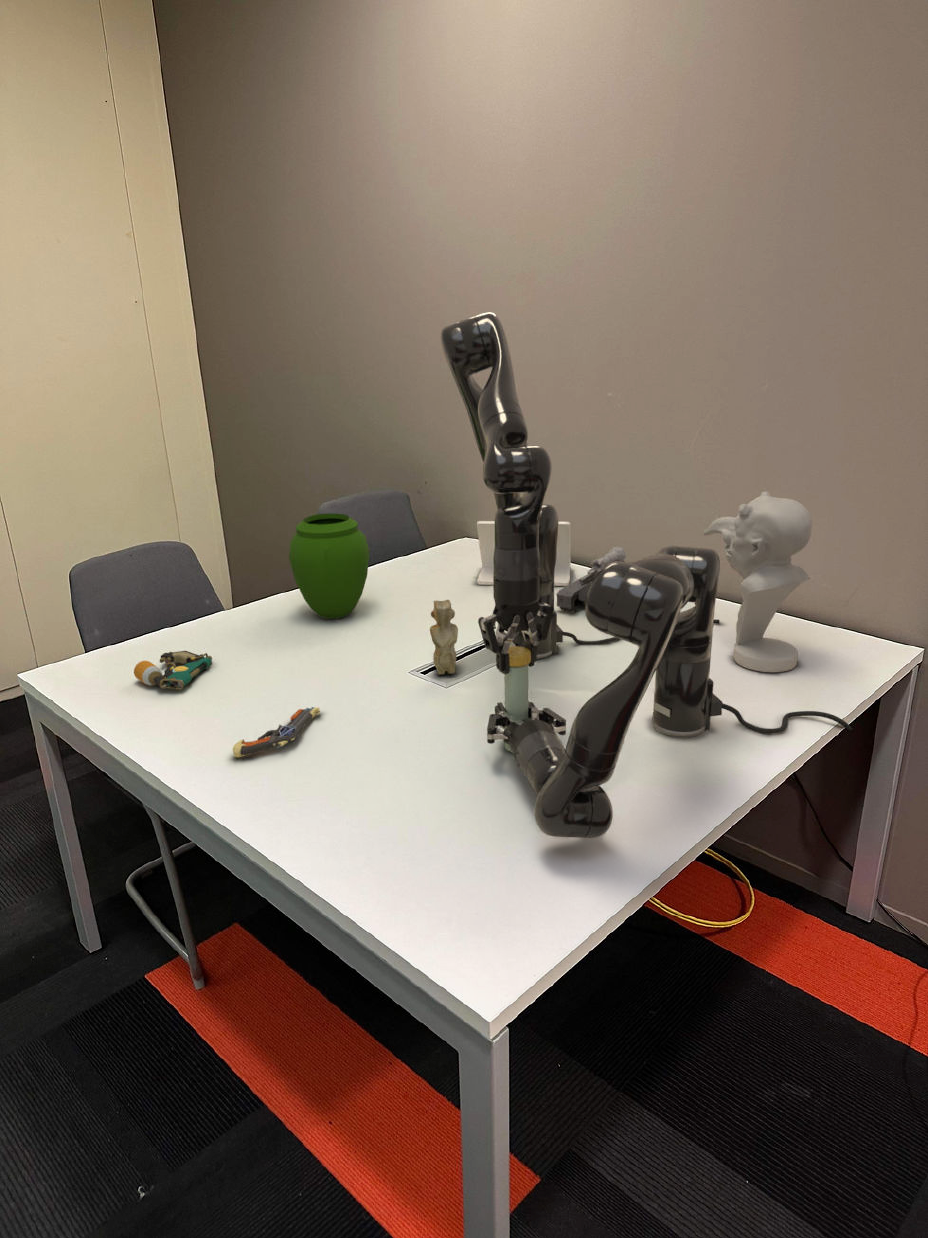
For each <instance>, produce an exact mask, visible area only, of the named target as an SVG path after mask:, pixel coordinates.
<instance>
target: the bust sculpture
mask: <svg viewBox="0 0 928 1238" xmlns="http://www.w3.org/2000/svg"><path fill="white" fill-rule="evenodd" d="M812 530H813V522H812V516H811V515H810V512H809V511H808V509H807V508H806V507H805V506H804V505H803V504H802V503H800V502H799V501H797V500H795V499H791V498H783V497H774V496H771V494H770V492H769V491H762V492H761V494H760V496H757V497H756V498H754V499H753V500H751V501H749V502H748V504H746V503H742V504H740V505H739V507H738V511H737V516H736V517H732V516H723V517H720V518H716V519H715V520H713V522H711V523H710V525H709V526H708V527H707V528H706V529H705V530H704V531H703V534H702V535H703V536H710V535H714V534H721V535H722V540H723V542H724V543H725V544H726V545H725V546H724V548H723V552H724V554H725V557H726V560H727V561H728V563H729V565H730V568H731V569H732V570H734V572H736V573H737V574H738V575H739V576H741V577H742V578H743V580H742V581H741V583H740V585H739V591H740V593H741V597H742V599H743V600H742V602H741V604H740V607H739V610H738V613H737V621H736V625H735V633H736V634H735V643H734V645H733V653H732V654H733V655H732V658H733V661H734V662H735V663H736V664H738V665H739V666H741V667H743V668H745V669H749V670H751V671H756V672H761V673H782V672H786V671H791V670H793V669H794V668H795V667H796V666H797V664H798V663H797V662H798V656H799V650H798V649H797V647H796V646H794V645H793V644H792V643H789V642H787V641H784V640H782V639H781V640H780V639H777V638H776V639H775V638H770V637H764V635H765V633H766V631H767V629H768V627H769V625H770V623H771V621H772V619H773V618H774V616H775V614H776V612H778V610H779V609H780V607H781V606H782V605H783V603H784V601H786V599H787V598H788V597H789V595H791V594H792V593H793V592H794V590H796V589H797V588H798V587H799V586H801V585H802V584H803V583H805V582H807V581H808V580H811V577H810V575H809V574H808V573H807V571H806V570H805V569H804V568H802V567H801V566H800V565H795V564H792V556H793V555H796V554H799V552H801V551H802V550H804V548H805V547H806V546H807V545H808V544H809V542H810V538H811V535H812Z"/></svg>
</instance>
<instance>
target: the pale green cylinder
mask: <svg viewBox="0 0 928 1238" xmlns="http://www.w3.org/2000/svg"><path fill="white" fill-rule="evenodd" d="M529 674H530V673H529V664H528V665H525V666H520V667H513V666H509V673H508V674H503V676H504V707H505V709H506V713H508V714H509V715H510V714H512V715H514V716H515V717H516V718H518V719H527V718H528V700H529V694H530V693H529V691H530V690H529V685H530V684H529V683H530V681H529V676H530V675H529ZM504 748H505V750H506V751H508V752H510V753H512V751H511V749H510V746H509V745H508V744H507V743H505V742H504Z"/></svg>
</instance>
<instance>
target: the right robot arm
mask: <svg viewBox="0 0 928 1238" xmlns="http://www.w3.org/2000/svg"><path fill="white" fill-rule="evenodd" d="M720 571H721V561H720V555H719V553H718V552H717V551H716V550H715V549H712V548H704V547H692V546H681V545H668V546H664V547H662V548H660V549H659V550H657V552H655V554H651V555H649V556H646V557H643V558H642V559H638V560H634V561H630V562H627V561H625V562H621V561H614V562H611V563H609V564H608V565H606V566H605V567H604V568H603V569H602V570H601V571H600V572H599V573H598V574H597V575H596V577H595V578H594V580H593V582H592V583H591V585H590V587H589V590H588V592H587V596H586V601H585V606H584V611H585V617H586V619H587V621H588V623H589V624H590V626H592V627H593V628H594V629H596V630H597V631H599V632H600V633H603V634H605V635H608V636H611V637H616V638H619V639H618V640H622V641H625V642H628V643H630V644H631V645H635V646H637V647H638V649H637V651H636V653H635V655H634V657H633V659H632V660H631V662H630V664H629V665H628V666H627V667H626V668H625V669H624V671H623V672H621V674H620V675H618V676H616V678H615V679H613V680H612V681H611V682H610V683H609V684H607V685H606V686H605V687H603V688H602V689H600V690H599V691H597V692H596V693H595V694H594V695H592V696H591V697H590V698H589V699H588V700H587V701H586V702H584V703H583V705H582V706H581V707H580V708H579V711H578V712H577V713H576V716H575V717H574V720H573V722H572V725H571V728H570V732H569V734H568V735H569V736H568V739H567V742H566V744H565V745H566V746H564V744H563V743H562V741H561V739H560V738H559V737H558V735H560V736H565V735H567V719H566V718H564V717H562V716H561V715H559V714H558V713H556V712H555V711H553V710H552V709H551V708H548V707H543V708H542V709H539V707H536V705H535V703H534V702H532V701H530V700H529V699H528V718H527V719H518V718H516V717H515V716H514V715H512V714H510V715H509V714H508V713H506V709H505V705H504V704H503V702H497V704H496V705H494V713H491V714H489V717H488V721H487V727H486V742H487V743H488V744H491V745H492V744H495V742H496V741H497V740H498V741H499V740H500V741H501V740H502V741H503V742H504V744H505V743H507V744H508V745H509V746H510V749H511V751H512V752H511V753H512V755H513V757H514V759H515V760H516V761H515V762H516V763H517V766H518V767H519V768H520V770H521V772H522V774H523V775H524V776H525V778H526V779H527V780H528V783H529V784H530V786H531V788H532V790H533V791H534V793H535V794H536V800H535V804H534V820H535V823H536V826H537V827H538V829H539V830H540V831H541V832H542V833H543V834H545V835H546V836H549V837H554V838H577V839H598V838H601V837H602V836H603V835H605V834H606V833H607V832H608V831H609V829H610V828H611V826H612V823H613V820H614V819H613V818H614V812H613V811H614V810H613V805H612V802H611V800H610V797H609V796H608V793H607V792H606V791H605V789H604V788H603V787H602V785H604V784H606V783H608V782H609V781H610V780H611V778H612V777H613V775H614V772H615V769H616V766H617V763H618V760H619V757H620V755H621V751H622V748H623V745H624V742H625V738H626V736H627V733H628V731H629V728H630V725H631V724H632V721H633V718H634V716H635V715H636V712H637V710H638V708H639V707H640V704H641V702H642V700H643V698H644V696H645V693H646V692H647V690H648V688H649V686H650V684H651V682H652V680H653V677H654V693H653V694H654V695H653V710H652V711H653V712H652V718H651V719H652V720H651V725H652V727H653V728H654V730H656V731H657V732H658V733H660V734H663V735H665V736H670V737H673V738H693V737H696V736H699V735H702V734H703V733H704V732H705V731H710V729H711V719H712V717H719V716H722V711H723V710H726V711H728V712H730V713H732V714H733V715H734V716H735V717H736V719H737V720H738V722H739V723H740V725H742V726H743V727H745V728H747V729H748V730H750V731H753V732H756V733H761V734H767V735H769V734H771V735H772V734H781V733H783V732H784V731H786V730H787V728H788V723H789V722H788V721H789V719H790V718H795V717H820V718H825V719H829V720H831V721H834V722H836V723H837V724H839V725H840V726H841V727H843V728H845V729H846V730H847V731H853V728H852V726H851V725H850V724H849V723H848V722H846V721H845V720H843V719H842V718H840V717H839V716H837V715H835V714H831V713H829V712H823V711H816V710H799V711H790V712H787V713H786V714H785V715H784V716H782V721H781V726H779V727H775V728H764V727H759V726H756V725H753V724H751V723H749V722H748V721H746V720H745V718H743V716H742V714H741V712H740V711H739V710H738V709H736V708H734V707H733V706H731V705H729V704H726V703H723V701H722V699H720V698H719V697H718V696H717V695H715V693H714V685H715V683H714V681H713V679H712V678H710V675H711V674H710V672H711V671H710V670H711V661H712V647H713V636H714V635H713V633H714V623H713V622H714V619H715V609H716V601H717V600H716V599H717V593H718V587H719V582H720V581H719V580H720ZM688 603H694V606H692V607H691V608H689V609H686V610H683V611H681V610H682V609H684V607H686V605H687V604H688ZM499 727H500V728H501V729H502V730H503V731H501V729H499Z"/></svg>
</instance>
